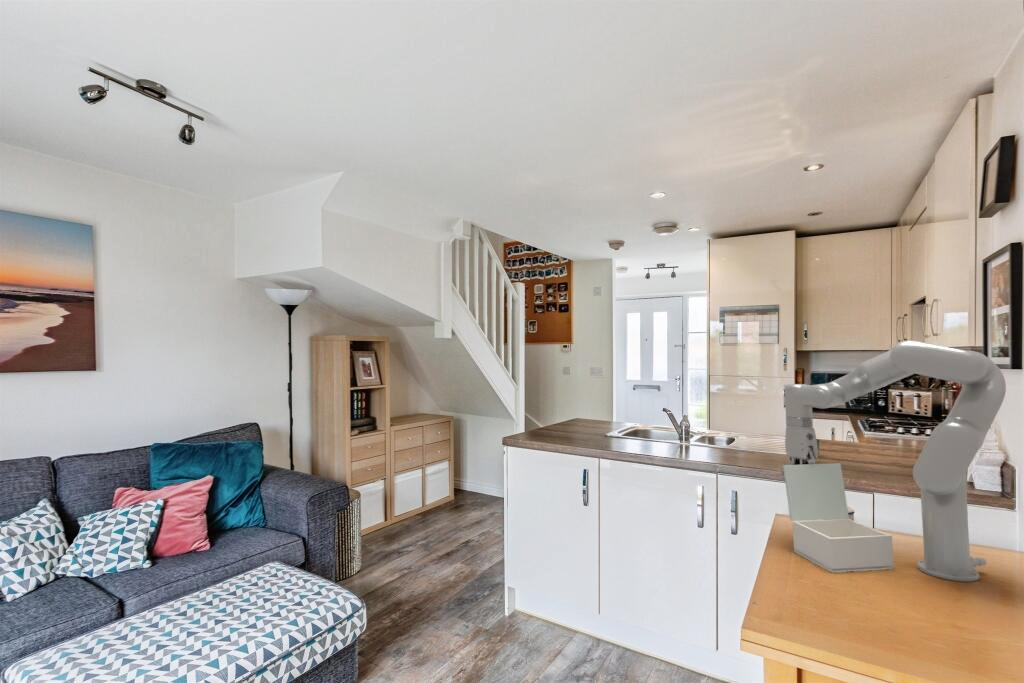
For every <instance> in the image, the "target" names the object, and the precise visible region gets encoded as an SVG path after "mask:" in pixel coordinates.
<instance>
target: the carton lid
mask: <svg viewBox="0 0 1024 683" xmlns="http://www.w3.org/2000/svg"><path fill="white" fill-rule="evenodd" d="M782 467H783V468H782V469H781V471H780V472H781V475H782V476H784V482H785V490H786V497H787V498H786V499H787V504H788V511H789V512H788V513H789V521H791V522H793V521H811V520H825V519H847V518H849V515H848V509H847V507H848V503H847V497H846V490H845V489H846V488H845V483H844V478H843V471H842V470H843V469H842V464H841V462H839V463H838V462H836V463H835V462H834V463H815V464H804V465H792V464H785V465H782Z"/></svg>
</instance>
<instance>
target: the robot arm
mask: <svg viewBox="0 0 1024 683" xmlns="http://www.w3.org/2000/svg"><path fill="white" fill-rule="evenodd" d="M914 374H916V375H920V376H924V377H928V378H934V379H939V380H943V381H947V382H952V383H955V384H956V383H957V384H961V389H960V391H959V394H958V396H957V398H956V399H955V401H954V404H953V405H952V408H951V409H950V411H949V412H948V414H947V416H946V418H945V419H944V420H943V421H942V422H940V423H939V424H937V425H936V426H935V427H934V429H933V430H932V432H931V433H930V435H929V437H928V439H927V441H926V443H925V445H924V446H923V449H922V451H921V452H920V454H919V456H918V458H917V459H916V462H915V464H914V466H913V468H912V477H913V480H914V482H915V483H916V485H917V486H918V487H919V488H920V504H921V505H920V506H921V507H920V508H921V524H922V525H921V526H922V540H923V541H922V542H923V559H921V560H918V562H917V568H918V569H919V570H920V571H921V572H923V573H925V574H927V575H930V576H933V577H936V578H940V579H944V580H948V581H949V580H950V581H955V582H966V583H967V582H976V581H978V580H979V579H980V572H978V571H977V570H975V568H976V567H977V566H978V567H981V566H986V565H987V560H986V558H984V557H975V558H974V557H972V556H971V550H970V534H969V517H968V516H969V515H968V513H969V512H968V495H967V494H968V476H967V471H968V469H969V467H970V465H971V464H972V462H973V460H974V459H975V457H976V455H977V453H978V451H979V450H980V449H981V448H982V447H983V444H984V442H985V439H986V436H987V434H988V432H989V430H990V428H991V427H992V424H993V422H994V420H995V418H996V417H997V415H998V413H999V410H1000V409H1001V407H1002V404H1003V402H1004V400H1005V396H1006V391H1007V390H1006V389H1007V385H1006V379H1005V376H1004V373H1003V372H1002V370H1001V369H1000V367H998V366H997V364H996V363H995V362H994V361H993V360H992V359H991V358H989V357H988V356H986V354H983V353H981V352H978V351H976V350H975V351H974V350H967V349H959V348H953V347H947V346H943V345H937V344H931V343H926V342H923V341H920V340H911V339H909V340H902V341H900V342H898V343H897V344H896V345H893V347H892V348H891V349H889V350H888V351H885V352H883V353H881V354H879V355H877V356H874V357H872V358H870V359H868V360H867V359H866V360H865V361H864V362H862V363H860V364H859V365H858V366H857V367H856V368H855V369H853V371H850V372H849V373H848V374H845V375H843V376H841V377H838V378H837V379H834V380H833V381H830V382H827V383H819V384H812V385H811V384H810V385H809V384H806V383H805V384H804V383H790V384H787V385H786V386H784V401H785V402H784V403H785V424H786V425H785V436H784V437H785V440H784V443H785V454H786V457H787V458H788V459H789V461H790V462H791V465H804V464H817V462H816V460H818V459H819V452H818V441H817V440H818V439H817V436H816V435H817V434H816V430H815V428H814V425H813V424H814V423H813V408H817V409H829V408H832V407H833V408H834V407H838V406H840V405H843V404H845V403H847V402H849V401H852V400H854V399H857V398H859V397H862V396H864V395H866V394H868V393H870V392H875V391H877V390H879V389H881V388H884V387H886V386H888V385H890V384H893V383H895V382H898V381H900V380H902V379H904V378H907V377H911V376H913V375H914Z"/></svg>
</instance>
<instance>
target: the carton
mask: <svg viewBox="0 0 1024 683" xmlns="http://www.w3.org/2000/svg"><path fill="white" fill-rule="evenodd" d="M792 533H793V535H792V540H793V552H794V553H796V554H797V555H799V556H801V557H802V558H805V559H806V560H808V561H810V562H812V563H813V564H815V565H817V566H818V567H820V568H822V569H824V570H826V571H828V572H829V573H831V572H832V573H831V574H834V573H833V572H837V573H850V572H849V571H854V572H868V571H869V570H870V571H871V570H872V571H887V570H886V569H889V570H894V553H893V552H894V550H893V549H894V548H893V537H892V535H890V534H889V533H886V532H883V531H881V530H878V529H876V528H873V527H870V526H868V525H865V524H863V523H859V522H858V521H855V520H854V521H853V520H850V519H833V520H804V521H792ZM847 571H848V572H847ZM870 571H869V572H870Z"/></svg>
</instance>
